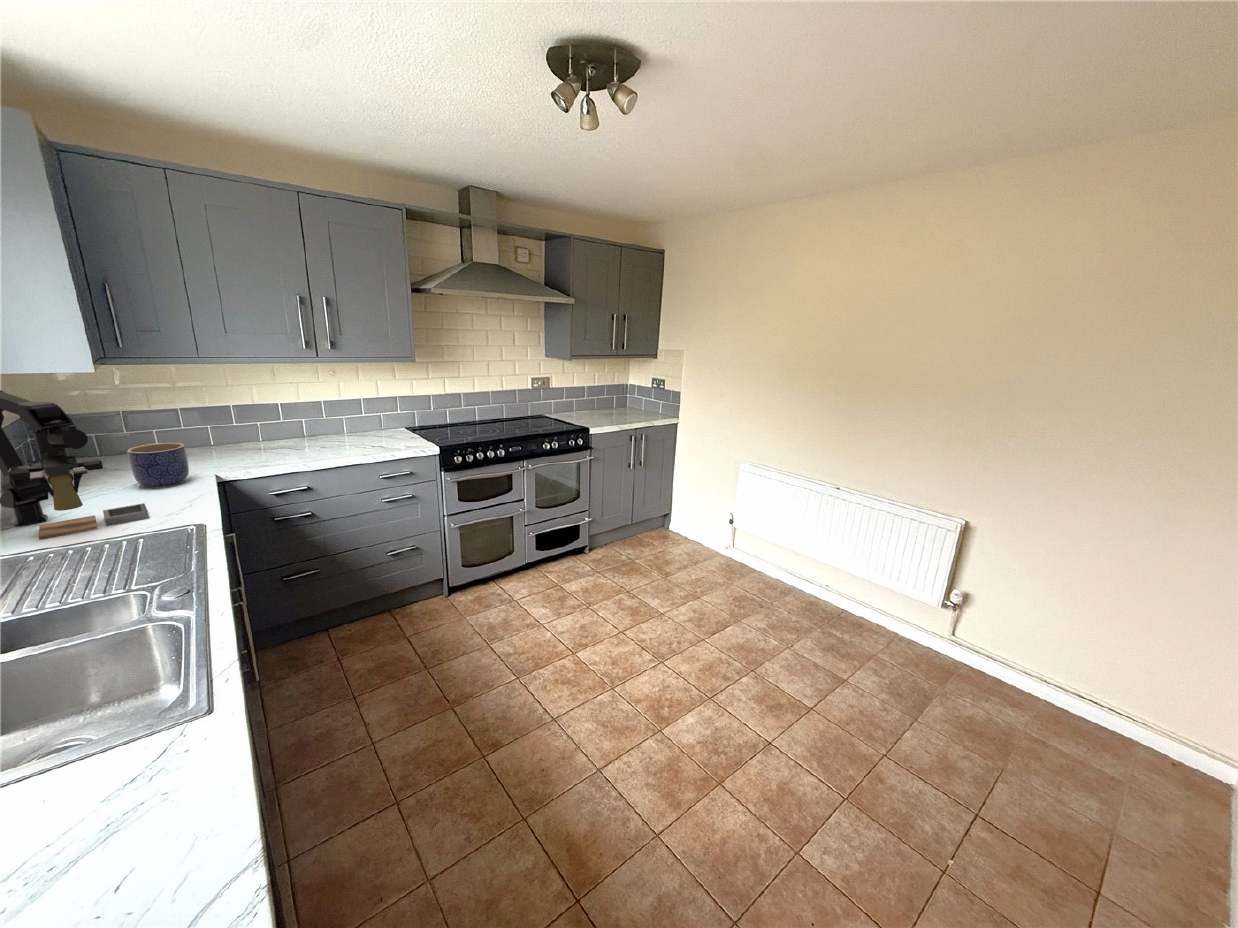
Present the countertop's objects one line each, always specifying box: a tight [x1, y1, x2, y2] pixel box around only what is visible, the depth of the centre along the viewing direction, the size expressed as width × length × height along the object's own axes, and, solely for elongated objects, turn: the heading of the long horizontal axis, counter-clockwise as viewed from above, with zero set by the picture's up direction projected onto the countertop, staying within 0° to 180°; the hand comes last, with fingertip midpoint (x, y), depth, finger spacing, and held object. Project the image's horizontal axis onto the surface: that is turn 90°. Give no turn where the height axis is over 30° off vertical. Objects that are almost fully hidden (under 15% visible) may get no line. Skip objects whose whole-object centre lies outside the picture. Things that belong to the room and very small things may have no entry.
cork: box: [47, 473, 84, 512], centre depth 151 cm, size 6×6×11 cm
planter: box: [126, 442, 190, 489], centre depth 193 cm, size 16×17×15 cm
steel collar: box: [102, 502, 150, 527], centre depth 162 cm, size 10×10×2 cm
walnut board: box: [37, 514, 98, 541], centre depth 153 cm, size 12×12×1 cm
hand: (65, 494), depth 151 cm, fingers closed on cork, 4 cm apart
